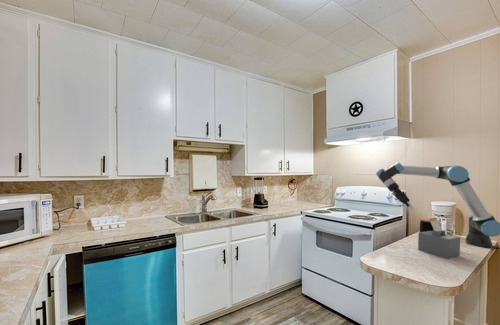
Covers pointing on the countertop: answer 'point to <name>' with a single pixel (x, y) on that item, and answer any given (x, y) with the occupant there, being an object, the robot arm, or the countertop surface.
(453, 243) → the box
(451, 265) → the countertop surface
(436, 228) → the lever
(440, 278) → the countertop surface
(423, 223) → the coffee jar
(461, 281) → the countertop surface
